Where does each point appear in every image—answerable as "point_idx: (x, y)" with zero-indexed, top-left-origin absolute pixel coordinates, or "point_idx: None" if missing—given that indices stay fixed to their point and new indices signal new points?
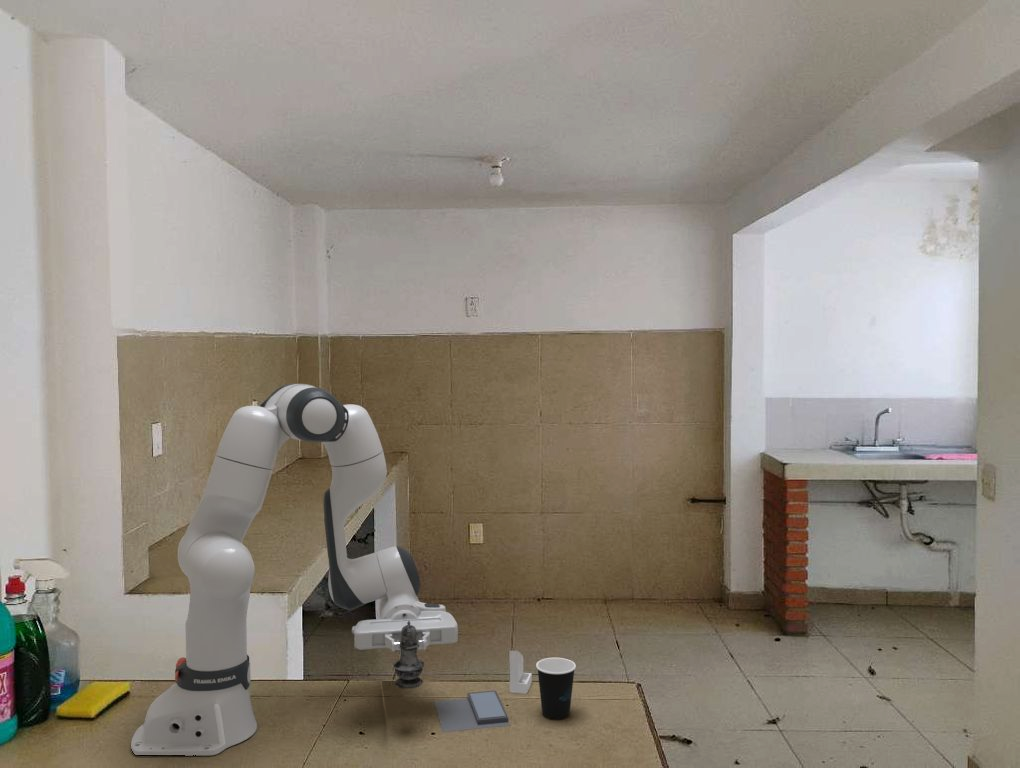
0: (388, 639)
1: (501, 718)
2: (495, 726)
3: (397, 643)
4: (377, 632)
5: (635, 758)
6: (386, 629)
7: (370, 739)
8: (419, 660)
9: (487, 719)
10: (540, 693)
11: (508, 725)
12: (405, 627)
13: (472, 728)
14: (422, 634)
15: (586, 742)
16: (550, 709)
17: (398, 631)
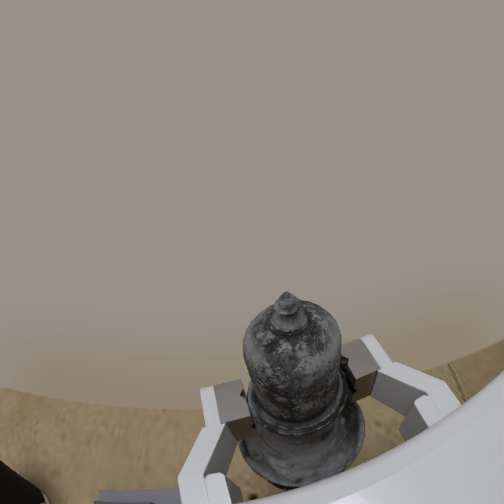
0: (414, 373)
1: (106, 502)
2: (122, 491)
3: (346, 343)
4: (495, 378)
5: (8, 390)
6: (473, 416)
7: (382, 452)
8: (262, 465)
9: (131, 502)
10: (20, 495)
11: (101, 490)
12: (308, 307)
13: (165, 491)
14: (230, 490)
15: (27, 432)
16: (28, 482)
17: (397, 446)
